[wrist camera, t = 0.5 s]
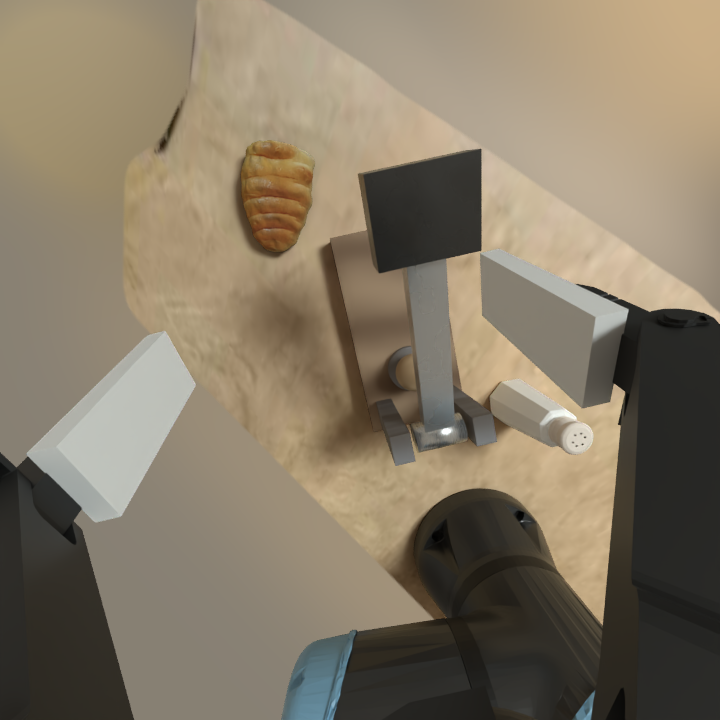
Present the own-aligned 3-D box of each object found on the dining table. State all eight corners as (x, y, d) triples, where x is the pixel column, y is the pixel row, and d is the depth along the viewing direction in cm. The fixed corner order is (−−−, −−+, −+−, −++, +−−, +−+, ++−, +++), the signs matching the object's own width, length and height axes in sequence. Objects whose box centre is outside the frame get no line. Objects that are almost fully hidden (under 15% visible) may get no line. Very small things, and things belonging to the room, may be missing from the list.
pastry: (310, 256, 35) (307, 250, 31) (243, 250, 34) (231, 243, 31) (316, 156, 33) (313, 138, 29) (245, 148, 33) (233, 129, 29)
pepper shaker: (495, 373, 38) (558, 401, 27) (540, 383, 38) (620, 415, 28) (482, 418, 39) (538, 464, 28) (526, 427, 39) (597, 476, 28)
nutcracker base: (458, 404, 38) (509, 448, 27) (372, 425, 38) (386, 477, 27) (426, 220, 35) (469, 181, 23) (330, 242, 34) (326, 213, 23)
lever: (467, 425, 30) (481, 447, 27) (400, 441, 29) (408, 464, 27) (460, 151, 19) (481, 148, 17) (356, 173, 19) (363, 174, 17)
